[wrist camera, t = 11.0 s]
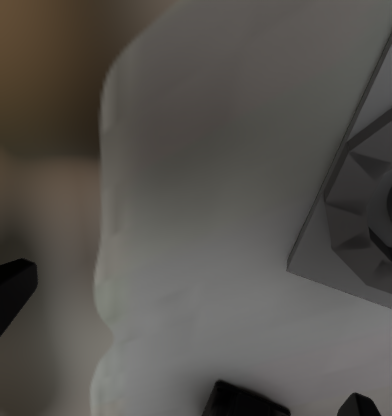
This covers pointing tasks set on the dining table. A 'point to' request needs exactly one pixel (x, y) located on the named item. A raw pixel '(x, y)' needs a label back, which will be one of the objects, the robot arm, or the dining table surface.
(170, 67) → the dining table surface
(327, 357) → the dining table surface
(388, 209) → the grey cylinder
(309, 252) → the grey notched ring
